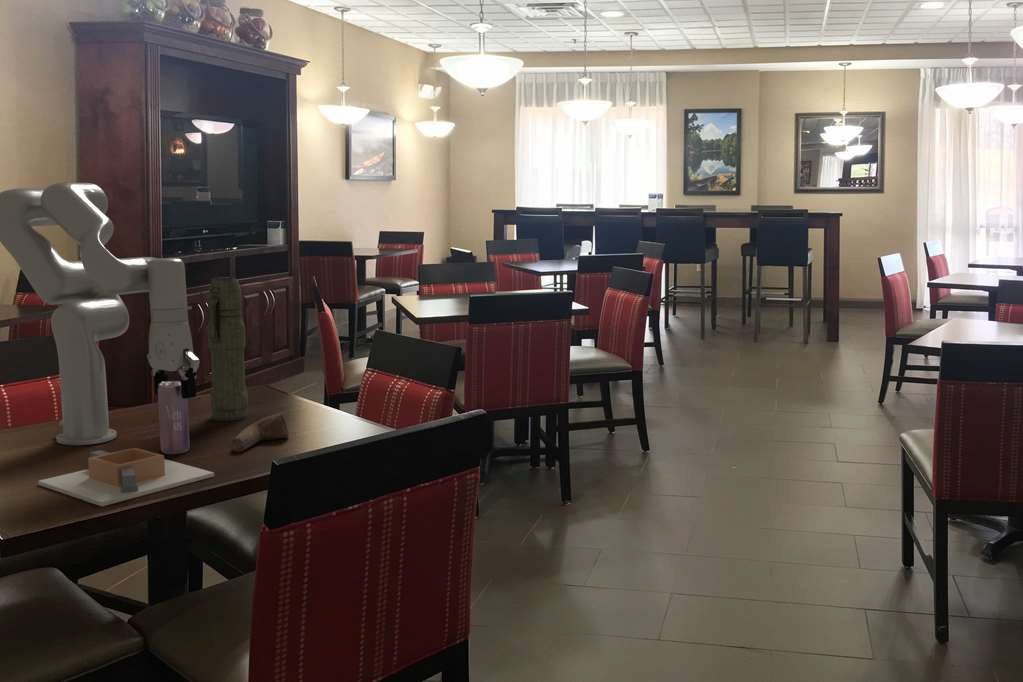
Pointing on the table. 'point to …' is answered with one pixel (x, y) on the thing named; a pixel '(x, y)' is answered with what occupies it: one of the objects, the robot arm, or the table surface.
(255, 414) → the table surface
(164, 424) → the beverage can
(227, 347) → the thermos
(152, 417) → the table surface
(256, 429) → the pipe
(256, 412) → the table surface
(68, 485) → the white board with box
